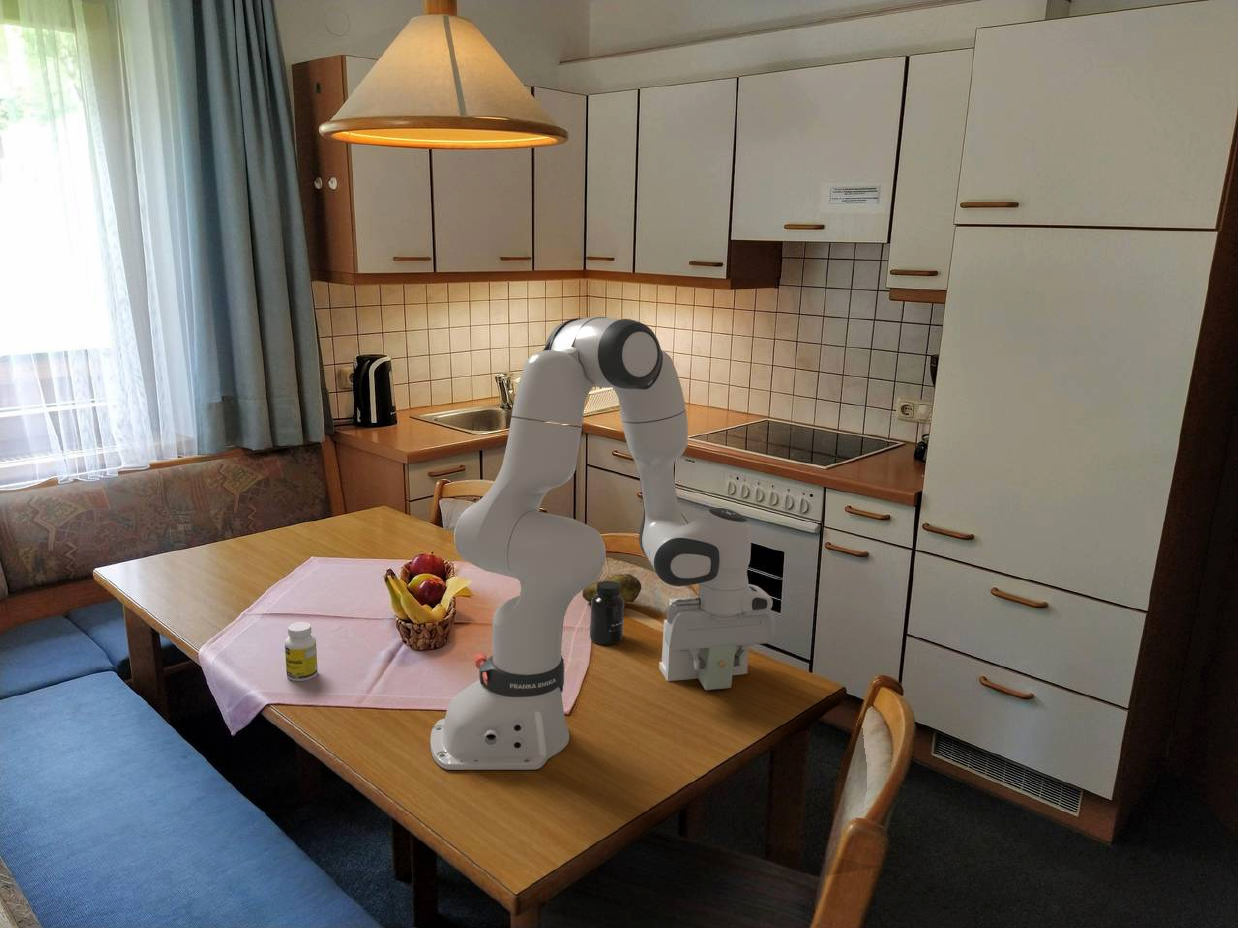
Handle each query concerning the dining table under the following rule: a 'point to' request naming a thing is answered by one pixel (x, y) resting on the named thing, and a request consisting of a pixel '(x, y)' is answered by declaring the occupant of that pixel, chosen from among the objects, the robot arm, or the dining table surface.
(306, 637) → the supplement bottle
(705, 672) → the pale green box
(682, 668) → the wall board
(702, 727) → the dining table surface
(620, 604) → the supplement bottle
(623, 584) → the potato
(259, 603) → the dining table surface
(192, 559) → the dining table surface
